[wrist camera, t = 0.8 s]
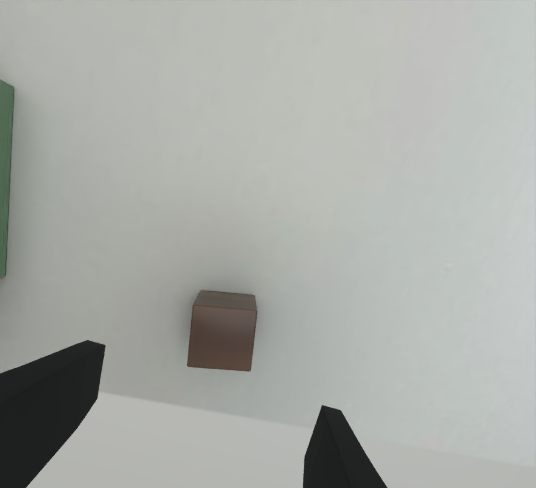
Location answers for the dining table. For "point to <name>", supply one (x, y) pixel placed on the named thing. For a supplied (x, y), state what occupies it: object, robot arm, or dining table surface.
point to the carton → (5, 165)
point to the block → (222, 331)
